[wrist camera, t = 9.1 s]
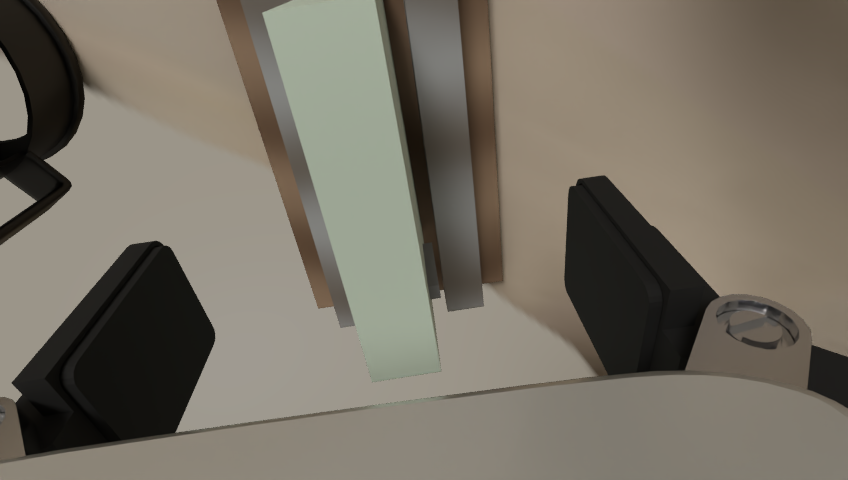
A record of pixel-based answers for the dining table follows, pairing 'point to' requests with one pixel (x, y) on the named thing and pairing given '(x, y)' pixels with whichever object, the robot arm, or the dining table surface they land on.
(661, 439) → the robot arm
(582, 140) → the dining table surface
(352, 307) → the door panel
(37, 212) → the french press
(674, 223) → the dining table surface
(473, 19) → the door track
